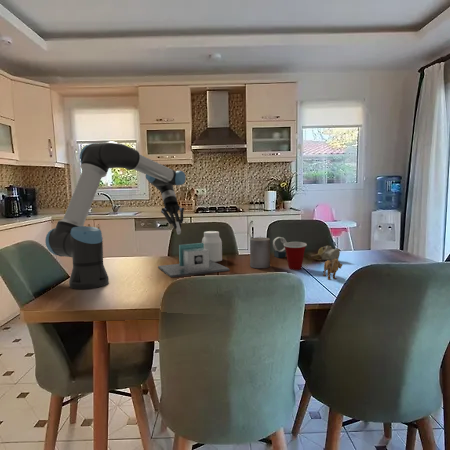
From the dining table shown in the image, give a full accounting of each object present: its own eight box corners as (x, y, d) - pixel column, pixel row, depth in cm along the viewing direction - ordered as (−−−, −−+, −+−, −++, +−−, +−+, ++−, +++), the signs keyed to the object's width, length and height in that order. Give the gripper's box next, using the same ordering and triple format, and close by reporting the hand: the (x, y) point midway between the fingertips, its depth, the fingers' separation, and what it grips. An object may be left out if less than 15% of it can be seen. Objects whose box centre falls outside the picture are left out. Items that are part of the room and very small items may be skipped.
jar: (223, 261, 193) (222, 232, 191) (205, 262, 190) (204, 233, 189) (218, 257, 204) (217, 230, 202) (201, 258, 202) (200, 231, 200)
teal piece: (187, 270, 163) (187, 248, 162) (179, 265, 174) (178, 244, 173) (212, 267, 168) (212, 246, 167) (203, 263, 179) (202, 242, 178)
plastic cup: (281, 270, 170) (281, 244, 168) (285, 265, 180) (285, 241, 178) (305, 271, 166) (305, 245, 165) (308, 266, 176) (308, 242, 175)
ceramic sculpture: (333, 246, 181) (308, 245, 192) (334, 263, 181) (308, 261, 192) (344, 244, 188) (319, 242, 199) (345, 261, 188) (320, 258, 200)
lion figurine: (343, 281, 148) (344, 259, 147) (331, 282, 148) (331, 260, 147) (328, 273, 163) (328, 253, 162) (316, 273, 162) (317, 253, 161)
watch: (288, 257, 201) (289, 237, 199) (275, 258, 198) (275, 238, 197) (284, 255, 206) (284, 236, 205) (271, 256, 204) (271, 236, 203)
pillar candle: (258, 263, 185) (258, 234, 184) (274, 266, 178) (274, 235, 177) (245, 266, 179) (245, 236, 177) (261, 269, 172) (261, 238, 170)
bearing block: (171, 277, 159) (170, 254, 158) (158, 267, 179) (157, 247, 178) (229, 270, 171) (229, 249, 170) (211, 262, 191) (210, 243, 190)
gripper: (179, 204, 209) (189, 236, 196) (157, 205, 204) (165, 238, 190) (182, 195, 204) (192, 227, 190) (159, 195, 199) (168, 228, 185)
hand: (179, 232), depth 190 cm, fingers closed
